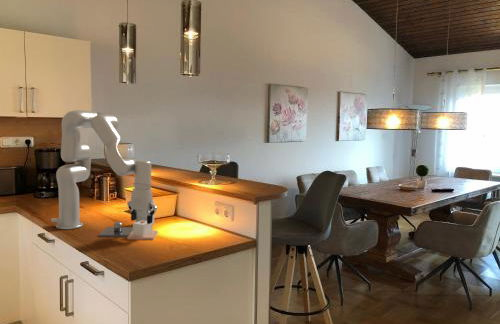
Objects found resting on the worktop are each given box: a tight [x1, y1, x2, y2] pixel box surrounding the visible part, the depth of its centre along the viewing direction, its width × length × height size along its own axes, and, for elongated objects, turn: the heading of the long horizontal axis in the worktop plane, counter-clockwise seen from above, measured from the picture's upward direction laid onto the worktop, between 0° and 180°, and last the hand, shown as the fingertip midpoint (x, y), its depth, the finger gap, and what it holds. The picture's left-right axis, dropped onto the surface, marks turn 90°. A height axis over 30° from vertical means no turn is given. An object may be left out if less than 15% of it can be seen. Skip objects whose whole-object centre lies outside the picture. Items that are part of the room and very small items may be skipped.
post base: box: [98, 221, 133, 238], centre depth 203 cm, size 14×14×5 cm
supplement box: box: [135, 200, 155, 225], centre depth 220 cm, size 7×7×13 cm
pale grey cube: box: [132, 221, 153, 236], centre depth 199 cm, size 6×6×6 cm
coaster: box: [126, 230, 158, 241], centre depth 199 cm, size 12×12×1 cm
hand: (141, 221), depth 199 cm, fingers open, 9 cm apart
